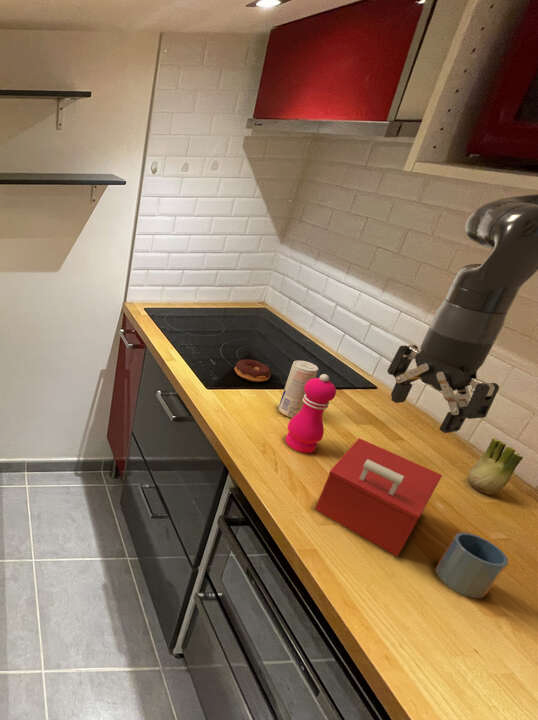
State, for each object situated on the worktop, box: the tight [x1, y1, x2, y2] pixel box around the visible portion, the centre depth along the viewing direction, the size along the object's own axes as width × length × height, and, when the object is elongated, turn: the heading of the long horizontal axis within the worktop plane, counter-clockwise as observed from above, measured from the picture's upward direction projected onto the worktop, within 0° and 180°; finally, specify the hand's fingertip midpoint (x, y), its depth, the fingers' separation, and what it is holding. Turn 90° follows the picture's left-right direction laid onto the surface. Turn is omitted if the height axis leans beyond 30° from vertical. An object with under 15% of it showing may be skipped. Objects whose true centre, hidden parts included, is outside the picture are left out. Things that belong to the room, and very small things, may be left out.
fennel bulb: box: [467, 437, 524, 496], centre depth 94 cm, size 6×5×12 cm
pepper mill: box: [285, 373, 337, 454], centre depth 105 cm, size 7×7×20 cm
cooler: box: [314, 473, 419, 557], centre depth 88 cm, size 16×14×10 cm
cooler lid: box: [328, 437, 443, 521], centre depth 85 cm, size 16×14×5 cm
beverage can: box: [277, 360, 319, 419], centre depth 118 cm, size 6×6×15 cm
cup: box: [435, 532, 509, 599], centre depth 75 cm, size 6×6×8 cm
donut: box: [234, 359, 272, 383], centre depth 138 cm, size 10×10×4 cm
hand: (420, 415), depth 77 cm, fingers open, 8 cm apart
